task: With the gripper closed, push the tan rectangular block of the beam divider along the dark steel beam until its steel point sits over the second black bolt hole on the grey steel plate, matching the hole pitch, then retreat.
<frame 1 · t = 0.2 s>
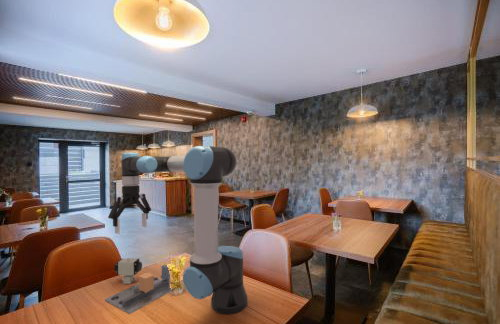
hand: (131, 229, 117), 27 cm above the table, fingers open, 13 cm apart
bolt plate: (143, 293, 111), on the table
tan rectangular block: (145, 284, 109), point 5 cm above the table, slide at 0.0 cm
beam with fixed leg: (147, 295, 109), resting on bolt plate
pneumatic valve: (129, 282, 122), on the table
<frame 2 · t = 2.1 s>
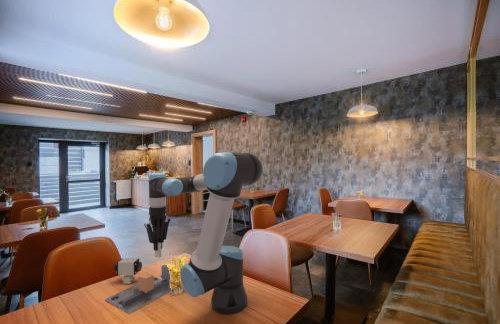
hand: (158, 256, 115), 15 cm above the table, fingers closed
nothing on the table moved.
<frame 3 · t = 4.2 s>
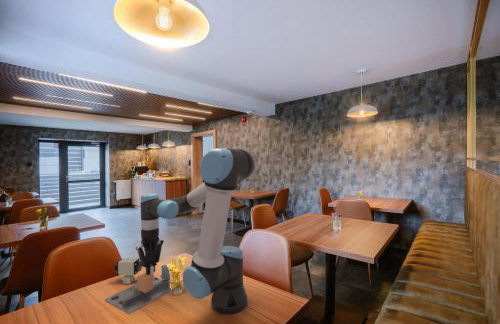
hand: (150, 280, 111), 6 cm above the table, fingers closed
tan rectangular block: (144, 284, 109), point 5 cm above the table, slide at 0.4 cm, touching gripper
everything else where it was.
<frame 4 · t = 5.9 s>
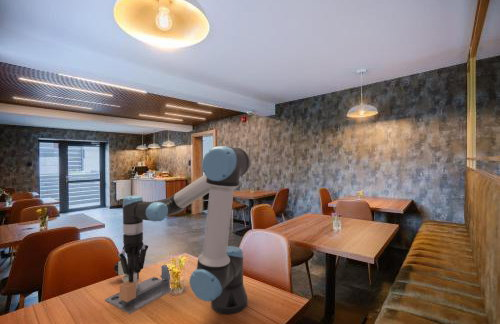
hand: (133, 288, 104), 6 cm above the table, fingers closed
tan rectangular block: (126, 292, 102), point 5 cm above the table, slide at 8.5 cm, touching gripper
everything else where it was.
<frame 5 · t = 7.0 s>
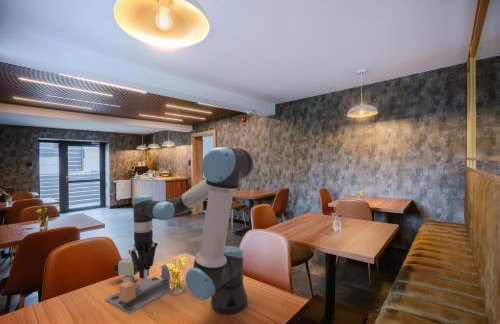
hand: (144, 284, 108), 6 cm above the table, fingers closed
tan rectangular block: (126, 293, 102), point 5 cm above the table, slide at 8.7 cm
everything else where it was.
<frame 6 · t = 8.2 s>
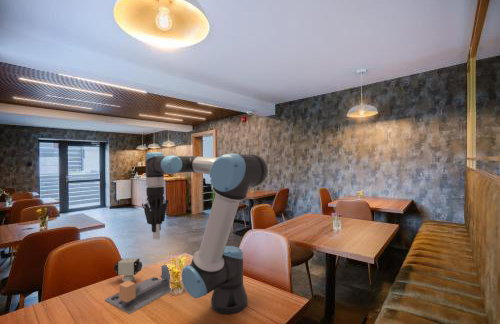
hand: (156, 238, 111), 25 cm above the table, fingers closed
nothing on the table moved.
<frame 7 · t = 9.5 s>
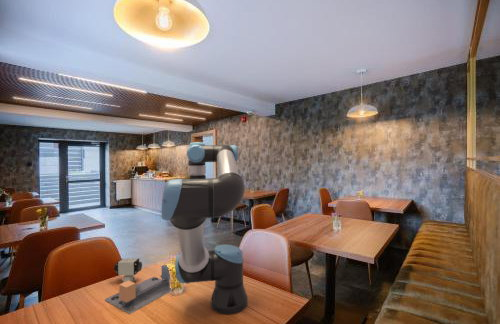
hand: (198, 223, 118), 29 cm above the table, fingers closed
nothing on the table moved.
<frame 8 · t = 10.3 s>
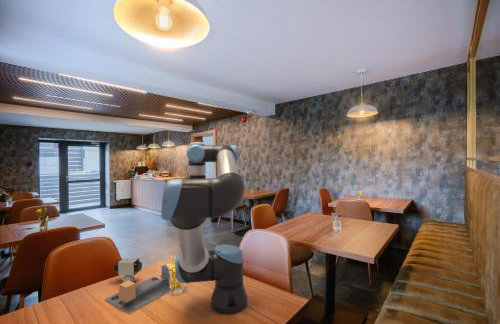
hand: (198, 223, 118), 29 cm above the table, fingers closed
nothing on the table moved.
at the end: tan rectangular block slide at 8.7 cm; the gripper is holding nothing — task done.
